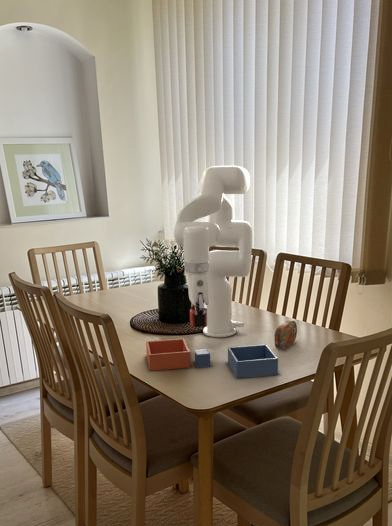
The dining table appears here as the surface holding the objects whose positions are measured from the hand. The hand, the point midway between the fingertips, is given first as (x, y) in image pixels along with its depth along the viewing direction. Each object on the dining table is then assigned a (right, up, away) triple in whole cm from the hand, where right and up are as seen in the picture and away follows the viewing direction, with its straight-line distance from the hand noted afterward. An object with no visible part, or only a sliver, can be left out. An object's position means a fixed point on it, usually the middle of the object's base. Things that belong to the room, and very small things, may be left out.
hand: (198, 323), depth 174 cm
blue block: (+2, -13, +8) cm, 15 cm away
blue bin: (+17, -14, +3) cm, 23 cm away
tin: (+31, -7, +23) cm, 39 cm away
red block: (0, 0, 0) cm, 0 cm away
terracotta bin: (-10, -12, +11) cm, 19 cm away
